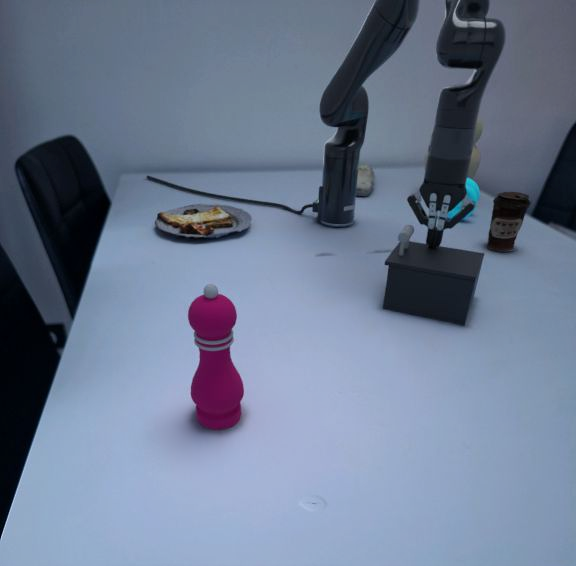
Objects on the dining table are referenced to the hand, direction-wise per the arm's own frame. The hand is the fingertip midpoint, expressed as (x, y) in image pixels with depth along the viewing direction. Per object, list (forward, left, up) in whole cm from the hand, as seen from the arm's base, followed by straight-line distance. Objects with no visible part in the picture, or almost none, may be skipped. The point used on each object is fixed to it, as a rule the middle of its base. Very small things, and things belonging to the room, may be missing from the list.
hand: (432, 246), depth 105 cm
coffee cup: (+12, +34, -10) cm, 37 cm away
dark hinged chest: (+2, -5, -10) cm, 11 cm away
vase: (-9, +76, -10) cm, 78 cm away
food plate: (-61, +14, -10) cm, 63 cm away
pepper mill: (-18, -54, -10) cm, 58 cm away
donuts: (-2, +55, -10) cm, 56 cm away
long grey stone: (-38, +77, -10) cm, 86 cm away
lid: (+2, -5, -1) cm, 5 cm away
